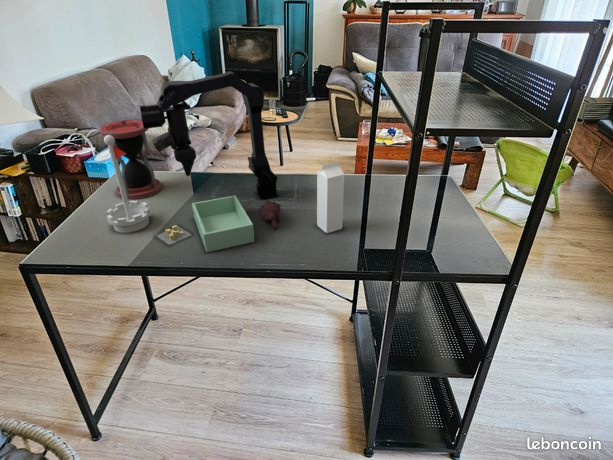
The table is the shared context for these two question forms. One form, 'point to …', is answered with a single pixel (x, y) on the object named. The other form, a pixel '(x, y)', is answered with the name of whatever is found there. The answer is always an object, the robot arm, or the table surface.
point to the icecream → (270, 212)
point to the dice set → (173, 235)
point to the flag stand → (125, 200)
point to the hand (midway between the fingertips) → (186, 170)
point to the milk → (330, 197)
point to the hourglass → (133, 158)
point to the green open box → (222, 223)
